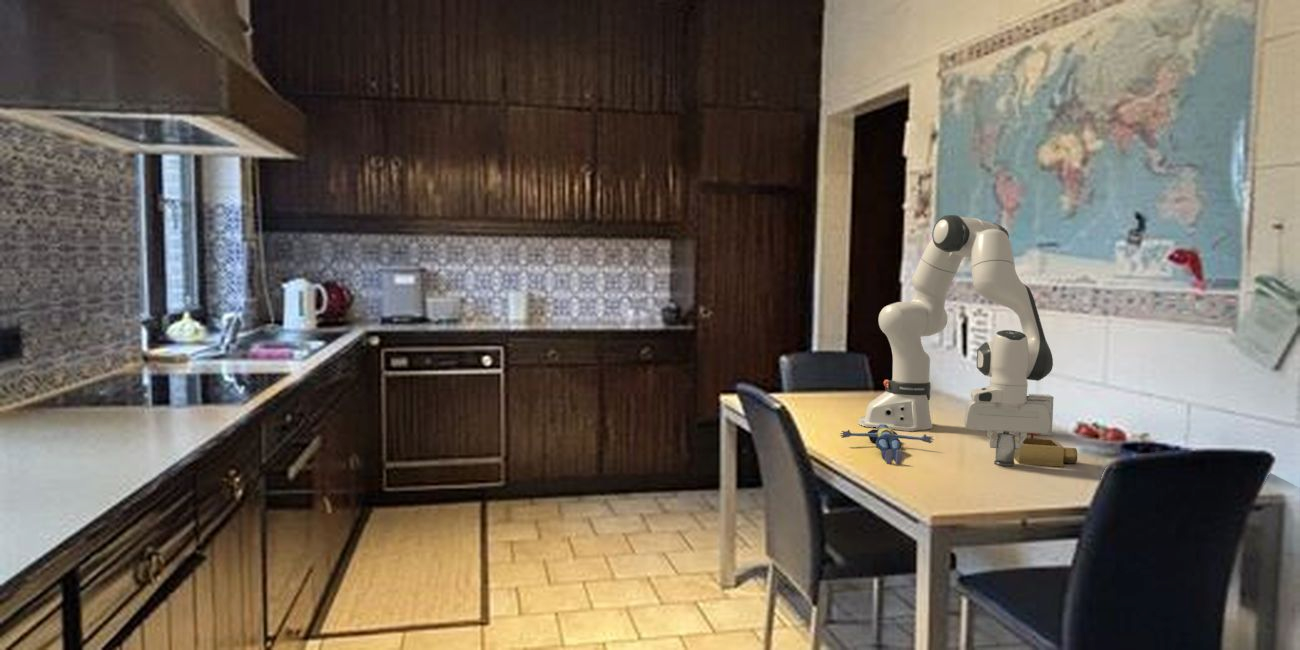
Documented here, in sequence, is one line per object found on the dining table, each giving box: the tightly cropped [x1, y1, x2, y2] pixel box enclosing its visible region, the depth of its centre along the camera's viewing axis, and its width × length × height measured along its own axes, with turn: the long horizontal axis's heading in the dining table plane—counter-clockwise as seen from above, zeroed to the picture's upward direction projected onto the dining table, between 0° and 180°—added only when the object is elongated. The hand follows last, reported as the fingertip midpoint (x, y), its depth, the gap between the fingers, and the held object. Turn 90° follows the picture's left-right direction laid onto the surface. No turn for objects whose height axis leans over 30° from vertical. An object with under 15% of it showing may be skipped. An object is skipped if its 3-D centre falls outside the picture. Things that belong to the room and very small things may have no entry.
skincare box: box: [1028, 393, 1055, 436], centre depth 260 cm, size 6×4×12 cm
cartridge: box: [994, 431, 1016, 468], centre depth 219 cm, size 5×5×9 cm
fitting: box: [1014, 433, 1078, 468], centre depth 226 cm, size 14×15×6 cm
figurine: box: [839, 424, 935, 465], centre depth 232 cm, size 22×26×5 cm
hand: (1005, 448), depth 219 cm, fingers closed on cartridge, 4 cm apart
